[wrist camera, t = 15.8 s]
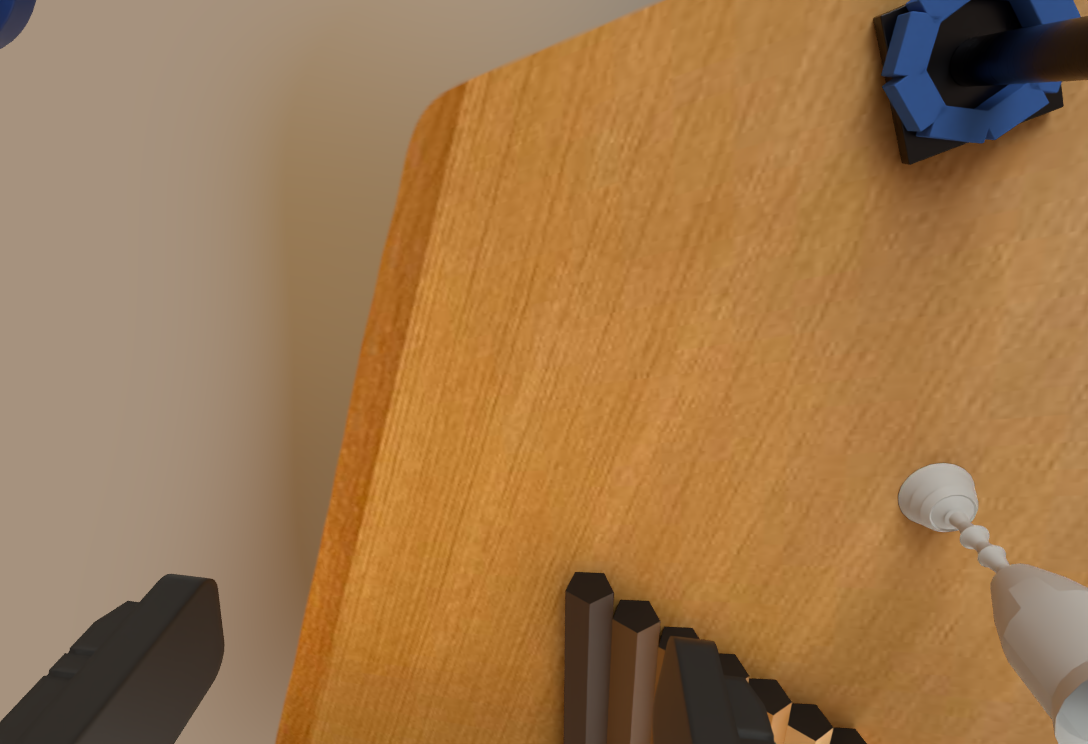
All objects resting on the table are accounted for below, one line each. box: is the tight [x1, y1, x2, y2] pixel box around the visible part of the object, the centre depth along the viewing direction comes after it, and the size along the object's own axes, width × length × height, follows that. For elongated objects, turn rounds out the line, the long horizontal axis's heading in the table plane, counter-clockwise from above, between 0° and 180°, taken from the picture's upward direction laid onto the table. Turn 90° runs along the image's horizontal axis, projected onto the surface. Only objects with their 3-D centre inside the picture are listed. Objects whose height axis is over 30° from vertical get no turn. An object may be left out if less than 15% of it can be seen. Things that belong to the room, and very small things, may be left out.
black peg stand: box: [873, 0, 1088, 164], centre depth 29 cm, size 8×8×12 cm
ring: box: [881, 0, 1081, 143], centre depth 33 cm, size 8×8×2 cm
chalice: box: [898, 463, 1088, 744], centre depth 37 cm, size 7×7×18 cm
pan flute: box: [564, 572, 867, 744], centre depth 52 cm, size 25×3×25 cm
